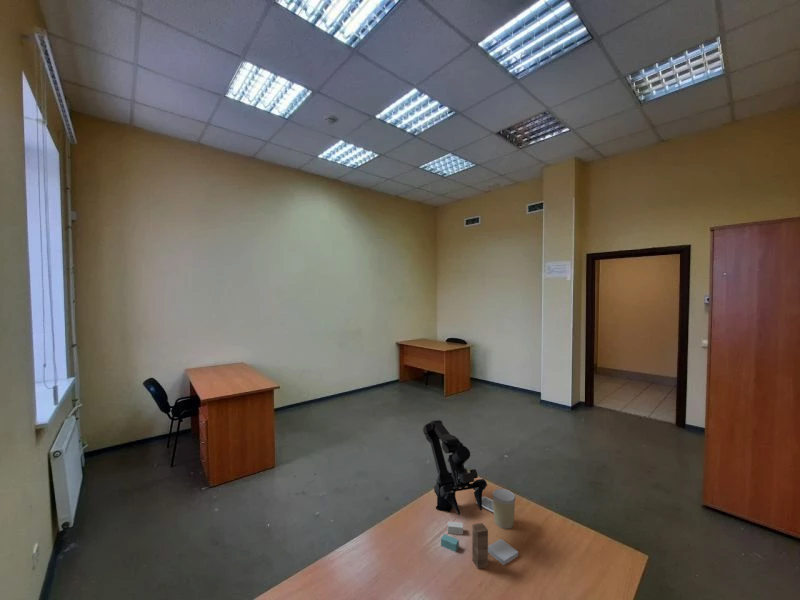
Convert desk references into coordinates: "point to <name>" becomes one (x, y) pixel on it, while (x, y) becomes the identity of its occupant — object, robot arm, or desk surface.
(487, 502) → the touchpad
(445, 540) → the teal brick
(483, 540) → the walnut block
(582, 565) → the desk surface
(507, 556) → the grey slab
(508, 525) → the coffee cup
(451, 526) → the light grey brick
